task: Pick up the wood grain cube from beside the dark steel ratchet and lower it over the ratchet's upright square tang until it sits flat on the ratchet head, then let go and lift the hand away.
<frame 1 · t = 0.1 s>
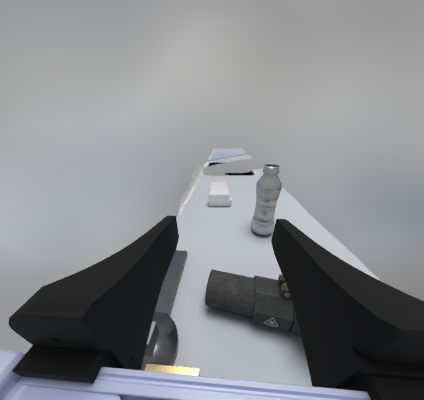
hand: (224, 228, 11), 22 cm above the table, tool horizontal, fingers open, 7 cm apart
ratchet: (149, 349, 22), on the table
plastic bottle: (261, 231, 47), on the table
laser sight: (273, 314, 26), on the table
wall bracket: (218, 195, 74), on the table
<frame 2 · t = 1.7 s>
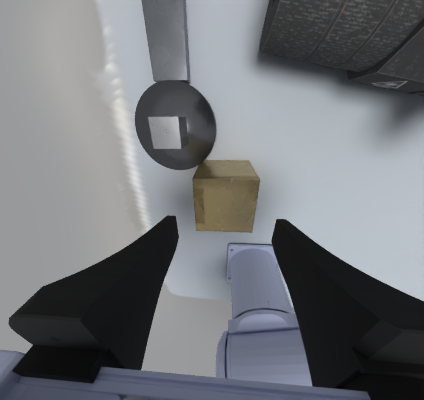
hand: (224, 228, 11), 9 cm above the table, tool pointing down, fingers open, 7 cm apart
ratchet: (179, 129, 16), on the table
wood grain cube: (224, 182, 19), on the table
laser sight: (395, 48, 13), on the table
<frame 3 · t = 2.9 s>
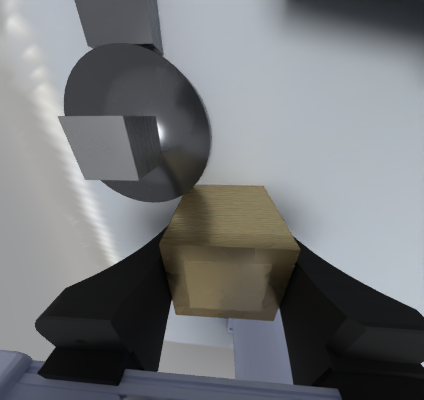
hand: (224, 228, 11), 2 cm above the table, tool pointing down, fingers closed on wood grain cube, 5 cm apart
ratchet: (150, 137, 10), on the table
wood grain cube: (224, 216, 13), on the table, touching gripper
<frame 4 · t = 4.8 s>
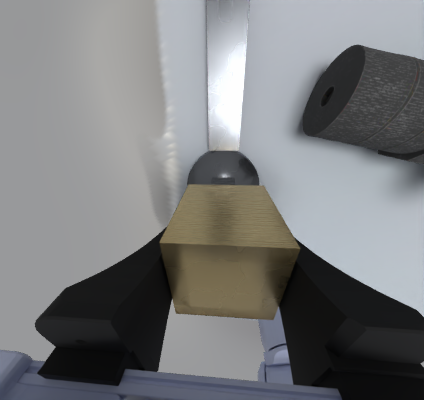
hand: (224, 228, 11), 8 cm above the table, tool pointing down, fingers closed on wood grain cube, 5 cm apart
ratchet: (222, 182, 19), on the table
wood grain cube: (224, 215, 13), point 7 cm above the table, touching gripper
laser sight: (418, 124, 15), on the table
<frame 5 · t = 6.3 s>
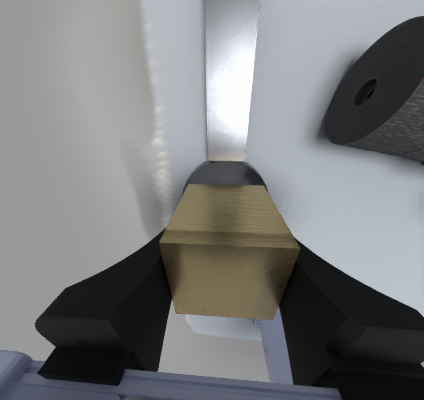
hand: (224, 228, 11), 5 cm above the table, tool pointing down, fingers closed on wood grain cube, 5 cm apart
ratchet: (224, 196, 16), on the table
wood grain cube: (224, 215, 13), point 3 cm above the table, touching gripper
when the fingers open (4 cm above the table, at t = 7.1 s): wood grain cube stays where it is, resting on ratchet.
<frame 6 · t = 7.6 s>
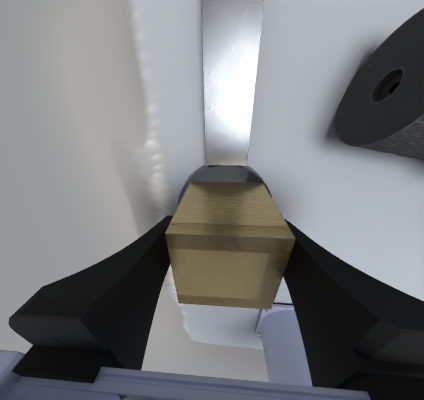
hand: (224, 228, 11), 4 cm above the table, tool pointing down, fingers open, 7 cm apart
ratchet: (224, 202, 14), on the table, touching wood grain cube
wood grain cube: (224, 212, 13), point 2 cm above the table, touching ratchet
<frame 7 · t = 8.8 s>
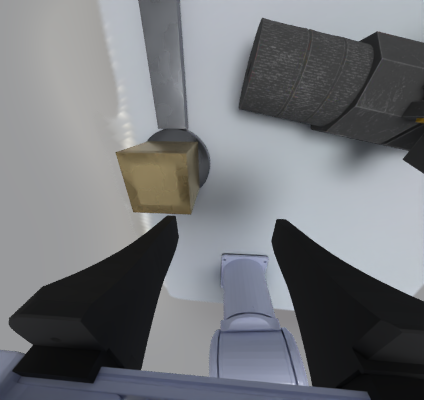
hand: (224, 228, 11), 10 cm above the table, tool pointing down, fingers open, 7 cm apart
ratchet: (179, 162, 20), on the table, touching wood grain cube
wood grain cube: (175, 165, 18), point 2 cm above the table, touching ratchet
laser sight: (349, 102, 16), on the table
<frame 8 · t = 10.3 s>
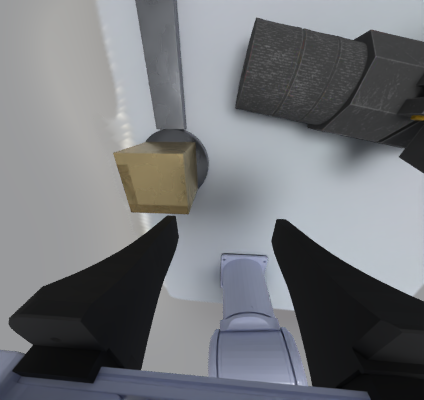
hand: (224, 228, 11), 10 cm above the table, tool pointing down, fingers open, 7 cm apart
ratchet: (177, 162, 20), on the table, touching wood grain cube
wood grain cube: (174, 166, 18), point 2 cm above the table, touching ratchet
laser sight: (346, 101, 16), on the table
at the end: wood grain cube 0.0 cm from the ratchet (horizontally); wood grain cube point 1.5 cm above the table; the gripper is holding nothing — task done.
